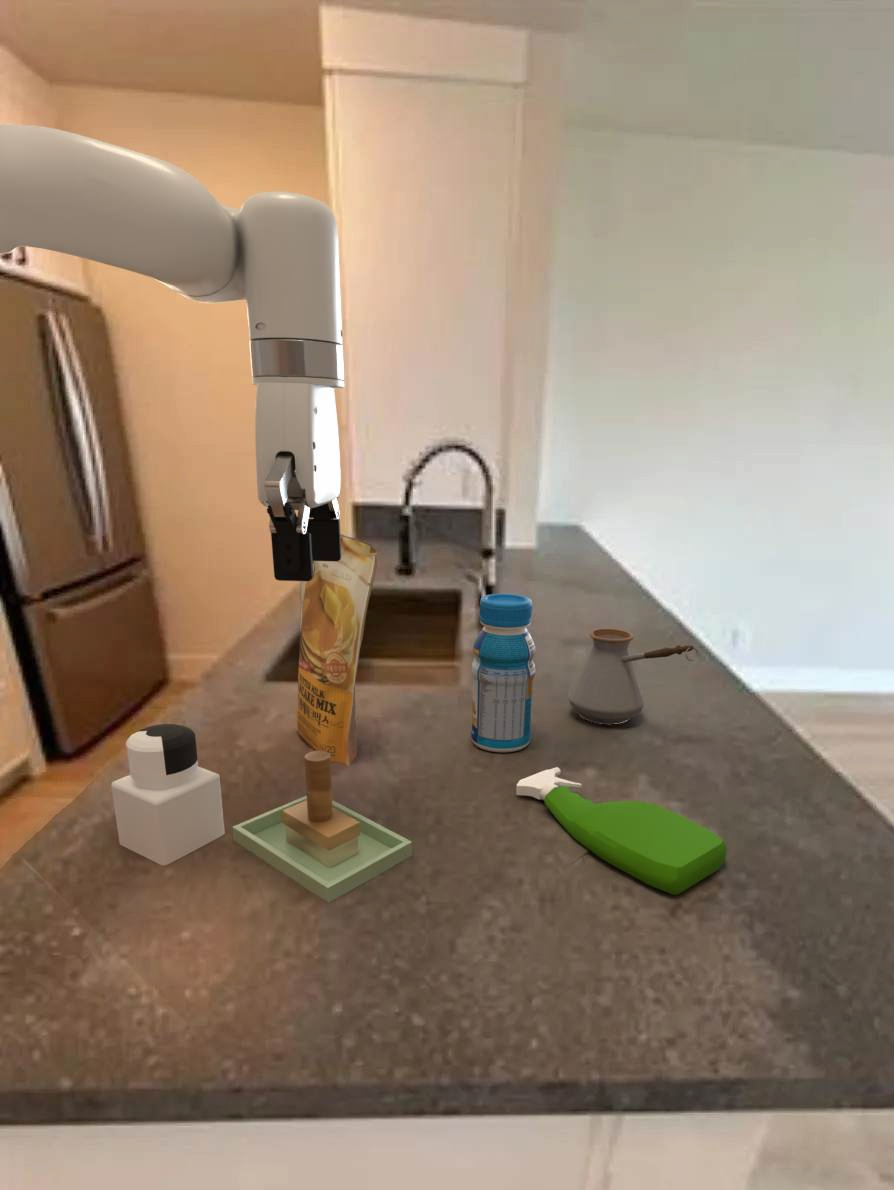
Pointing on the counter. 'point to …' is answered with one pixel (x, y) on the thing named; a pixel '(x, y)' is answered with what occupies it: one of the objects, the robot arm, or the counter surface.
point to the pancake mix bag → (333, 648)
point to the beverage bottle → (503, 674)
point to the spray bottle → (632, 834)
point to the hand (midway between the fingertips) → (310, 569)
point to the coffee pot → (612, 678)
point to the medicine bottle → (166, 796)
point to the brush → (320, 817)
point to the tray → (270, 845)
